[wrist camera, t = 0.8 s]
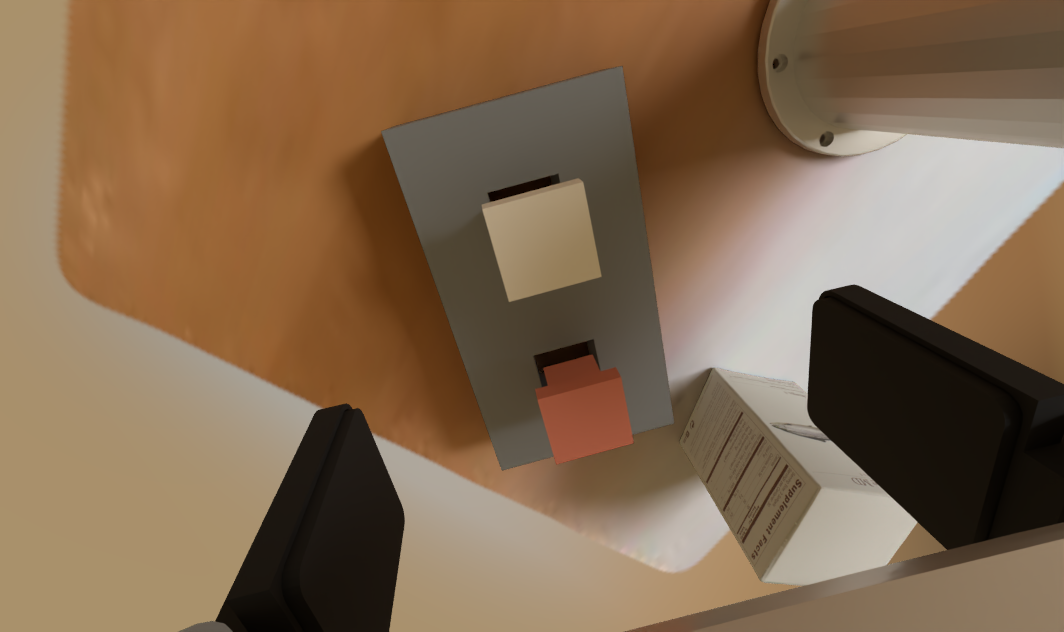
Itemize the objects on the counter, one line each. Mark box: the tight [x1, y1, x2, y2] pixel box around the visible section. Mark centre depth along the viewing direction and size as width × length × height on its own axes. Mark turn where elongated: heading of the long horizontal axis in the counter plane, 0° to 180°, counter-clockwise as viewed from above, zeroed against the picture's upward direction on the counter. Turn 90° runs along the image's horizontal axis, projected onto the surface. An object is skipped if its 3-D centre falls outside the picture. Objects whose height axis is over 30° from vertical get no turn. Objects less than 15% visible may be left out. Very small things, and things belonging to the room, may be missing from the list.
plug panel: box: [381, 66, 674, 470], centre depth 30 cm, size 12×22×4 cm, turn 14°
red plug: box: [535, 355, 634, 464], centre depth 28 cm, size 4×4×4 cm
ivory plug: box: [482, 178, 602, 302], centre depth 23 cm, size 4×4×4 cm
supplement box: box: [680, 368, 917, 586], centre depth 32 cm, size 7×7×13 cm
